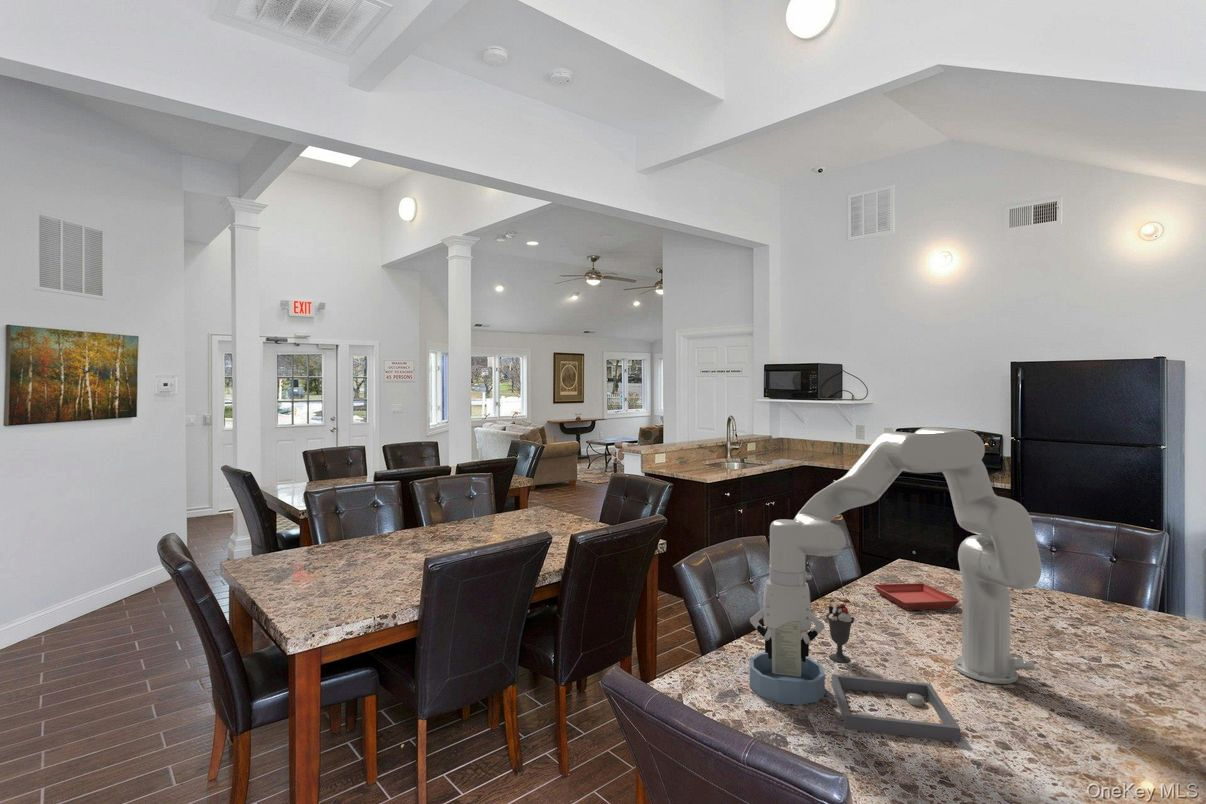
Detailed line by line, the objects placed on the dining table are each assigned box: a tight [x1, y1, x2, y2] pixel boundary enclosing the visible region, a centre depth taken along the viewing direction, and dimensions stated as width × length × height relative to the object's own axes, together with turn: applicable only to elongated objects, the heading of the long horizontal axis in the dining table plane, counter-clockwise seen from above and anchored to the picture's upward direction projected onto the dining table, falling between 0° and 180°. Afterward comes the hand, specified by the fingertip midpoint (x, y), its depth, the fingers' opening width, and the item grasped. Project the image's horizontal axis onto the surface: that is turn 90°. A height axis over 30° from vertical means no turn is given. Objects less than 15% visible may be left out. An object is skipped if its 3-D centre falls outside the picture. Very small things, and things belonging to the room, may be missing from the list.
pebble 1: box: [855, 711, 873, 716], centre depth 119 cm, size 3×3×1 cm
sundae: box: [825, 598, 856, 664], centre depth 148 cm, size 7×7×15 cm
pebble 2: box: [906, 693, 925, 708], centre depth 127 cm, size 3×3×1 cm
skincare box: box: [771, 621, 802, 677], centre depth 134 cm, size 6×4×12 cm
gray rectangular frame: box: [831, 673, 962, 743], centre depth 124 cm, size 20×18×2 cm
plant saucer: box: [873, 582, 961, 611], centre depth 191 cm, size 18×18×3 cm
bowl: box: [749, 652, 826, 706], centre depth 134 cm, size 16×16×4 cm
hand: (786, 657), depth 134 cm, fingers closed on skincare box, 6 cm apart
